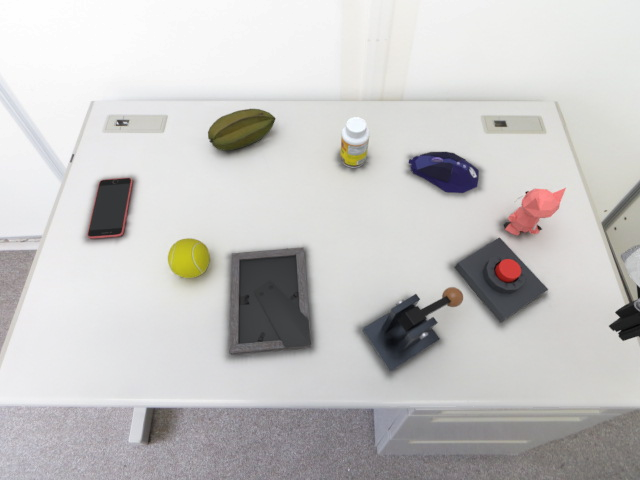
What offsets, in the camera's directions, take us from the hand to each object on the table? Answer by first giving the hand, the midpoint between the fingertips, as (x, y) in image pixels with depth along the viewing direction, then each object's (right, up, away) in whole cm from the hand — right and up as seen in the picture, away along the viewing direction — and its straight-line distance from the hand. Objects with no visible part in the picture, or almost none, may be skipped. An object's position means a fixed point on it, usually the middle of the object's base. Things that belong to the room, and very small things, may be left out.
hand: (625, 325), depth 35 cm
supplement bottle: (-21, +25, +47) cm, 57 cm away
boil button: (+4, +2, +30) cm, 30 cm away
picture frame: (-37, -3, +32) cm, 49 cm away
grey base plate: (+4, +1, +33) cm, 33 cm away
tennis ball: (-52, +3, +35) cm, 63 cm away
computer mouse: (-3, +22, +45) cm, 50 cm away
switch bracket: (-15, -8, +29) cm, 33 cm away
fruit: (-45, +30, +50) cm, 74 cm away
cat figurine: (+10, +10, +38) cm, 41 cm away
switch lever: (-11, -3, +24) cm, 27 cm away
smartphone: (-71, +14, +42) cm, 83 cm away
